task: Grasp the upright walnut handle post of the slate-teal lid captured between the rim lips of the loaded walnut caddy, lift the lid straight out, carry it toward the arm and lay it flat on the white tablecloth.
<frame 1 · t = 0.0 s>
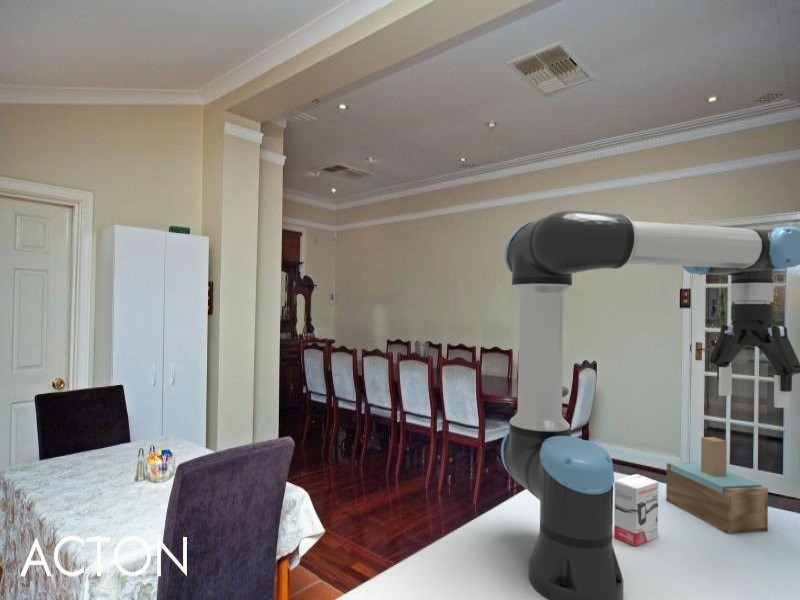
hand: (751, 401, 103), 28 cm above the table, fingers open, 13 cm apart
ink box: (635, 538, 99), on the table
caddy: (713, 514, 111), on the table
lid: (713, 480, 111), point 8 cm above the table, touching caddy
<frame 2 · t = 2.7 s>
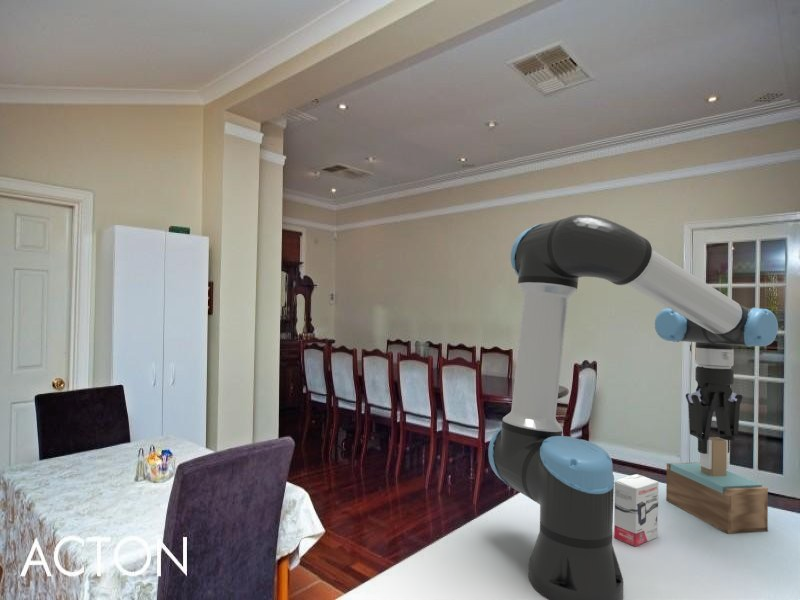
hand: (713, 466, 111), 11 cm above the table, fingers closed on lid, 3 cm apart
lid: (713, 480, 111), point 8 cm above the table, touching caddy, gripper
everything else where it was.
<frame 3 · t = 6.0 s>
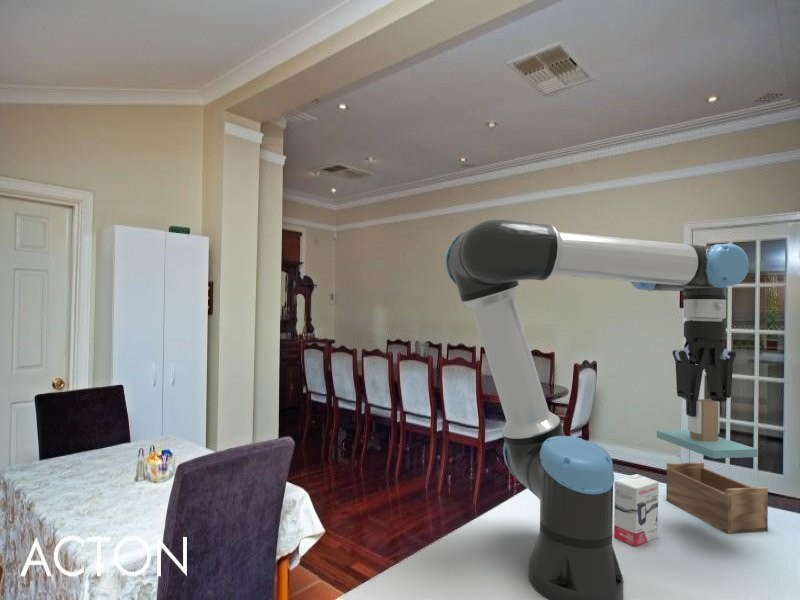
hand: (703, 431, 100), 22 cm above the table, fingers closed on lid, 3 cm apart
lid: (703, 446, 99), point 19 cm above the table, touching gripper
everything else where it was.
when the fingers open (4 cm above the table, at t = 9.3 s): lid drops 1 cm, on the table.
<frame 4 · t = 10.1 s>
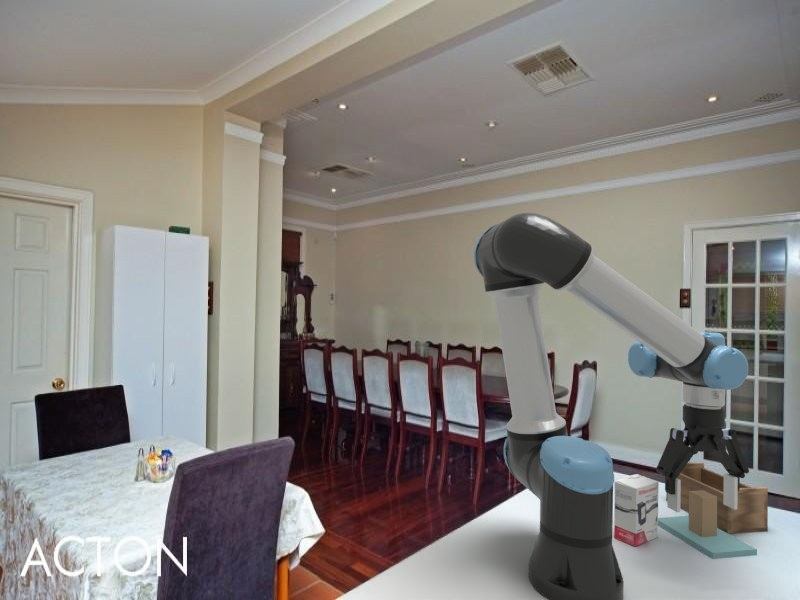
hand: (702, 508, 99), 6 cm above the table, fingers open, 13 cm apart
lid: (702, 539, 99), on the table
everything else where it was.
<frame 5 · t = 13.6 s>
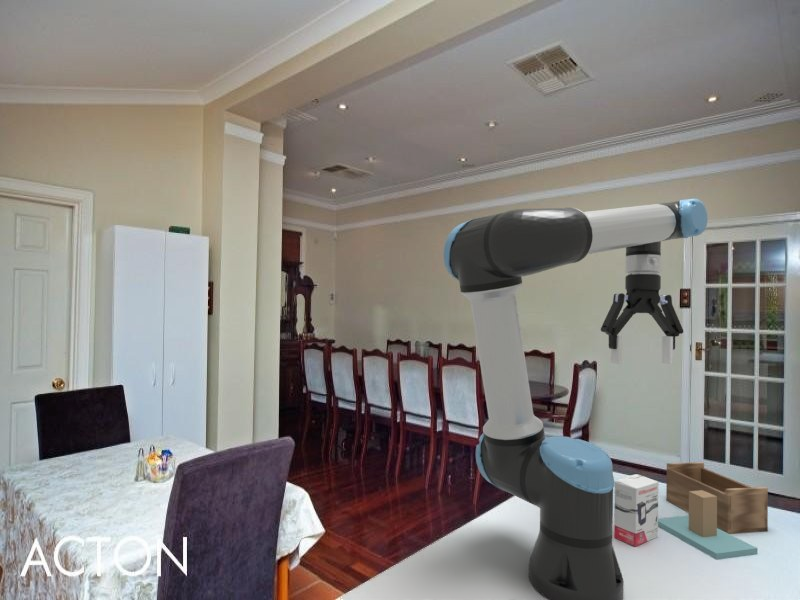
hand: (641, 363, 113), 35 cm above the table, fingers open, 13 cm apart
nothing on the table moved.
at the end: lid inside the target area (0.0 cm from its centre), on the table; lid tilted 0°; lid touching table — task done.
